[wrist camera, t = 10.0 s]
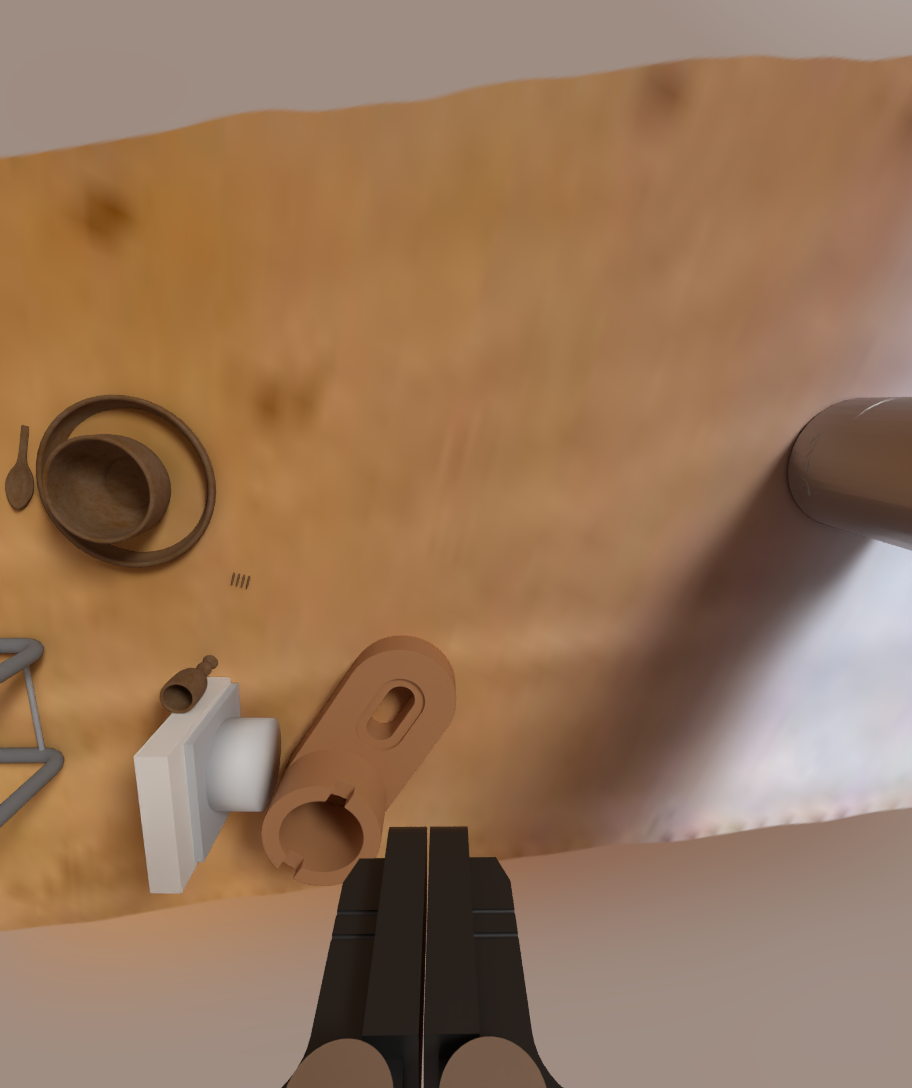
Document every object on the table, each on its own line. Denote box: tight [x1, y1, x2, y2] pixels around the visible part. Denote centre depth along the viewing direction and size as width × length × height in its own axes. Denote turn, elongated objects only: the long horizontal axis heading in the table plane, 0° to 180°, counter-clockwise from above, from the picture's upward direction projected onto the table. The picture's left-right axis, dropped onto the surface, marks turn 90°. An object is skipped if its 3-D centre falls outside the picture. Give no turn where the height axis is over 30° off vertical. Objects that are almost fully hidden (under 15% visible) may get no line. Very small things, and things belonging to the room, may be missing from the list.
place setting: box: [5, 395, 250, 714], centre depth 37 cm, size 18×20×6 cm
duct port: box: [134, 677, 281, 893], centre depth 39 cm, size 6×10×10 cm, turn 178°
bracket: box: [261, 636, 456, 886], centre depth 41 cm, size 18×8×7 cm, turn 146°
